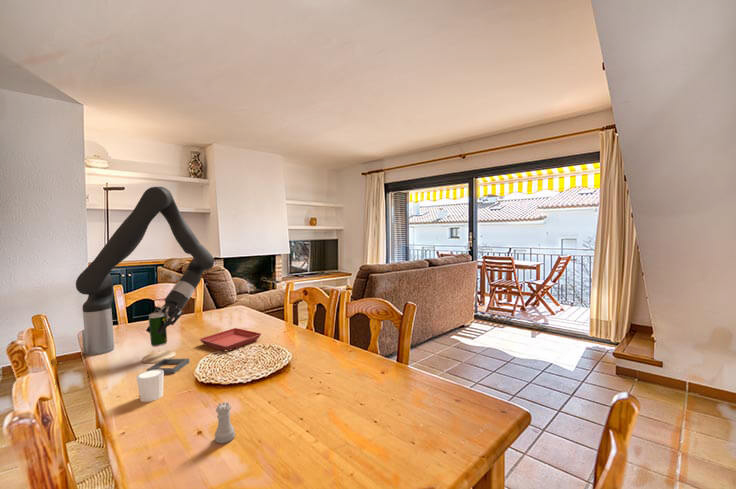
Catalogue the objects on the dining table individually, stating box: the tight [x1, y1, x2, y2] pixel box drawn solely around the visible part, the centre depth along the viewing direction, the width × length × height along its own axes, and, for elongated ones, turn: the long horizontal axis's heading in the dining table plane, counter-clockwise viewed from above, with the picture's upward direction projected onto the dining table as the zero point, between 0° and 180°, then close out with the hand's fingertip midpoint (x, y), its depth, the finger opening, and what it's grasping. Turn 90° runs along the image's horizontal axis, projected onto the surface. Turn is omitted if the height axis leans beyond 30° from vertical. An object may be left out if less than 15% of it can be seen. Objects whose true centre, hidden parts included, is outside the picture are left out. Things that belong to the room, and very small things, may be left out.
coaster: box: [141, 350, 177, 364], centre depth 134 cm, size 11×11×1 cm
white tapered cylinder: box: [135, 369, 165, 403], centre depth 102 cm, size 7×7×7 cm
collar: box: [146, 358, 190, 375], centre depth 124 cm, size 10×10×2 cm
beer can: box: [148, 312, 168, 348], centre depth 134 cm, size 5×5×12 cm
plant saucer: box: [199, 327, 262, 351], centre depth 149 cm, size 18×18×3 cm
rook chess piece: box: [214, 401, 236, 444], centre depth 81 cm, size 4×4×8 cm
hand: (153, 332), depth 132 cm, fingers closed on beer can, 5 cm apart
